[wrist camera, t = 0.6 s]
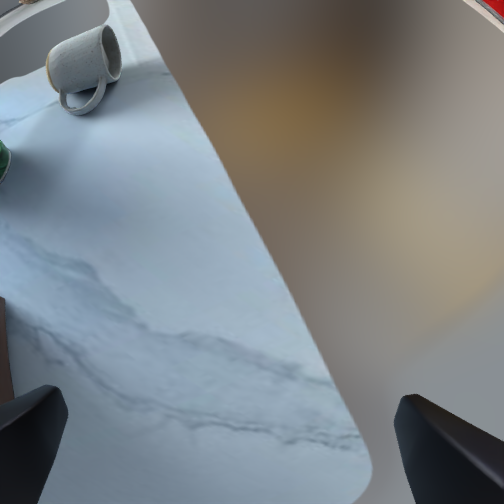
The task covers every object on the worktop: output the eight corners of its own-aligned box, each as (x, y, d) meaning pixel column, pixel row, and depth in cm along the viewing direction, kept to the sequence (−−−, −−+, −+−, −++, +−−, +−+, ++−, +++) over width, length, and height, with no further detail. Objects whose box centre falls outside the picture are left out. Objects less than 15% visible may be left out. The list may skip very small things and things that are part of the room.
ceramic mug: (70, 75, 35) (52, 34, 27) (124, 58, 35) (110, 14, 28) (54, 127, 31) (26, 83, 24) (116, 108, 31) (94, 57, 24)
